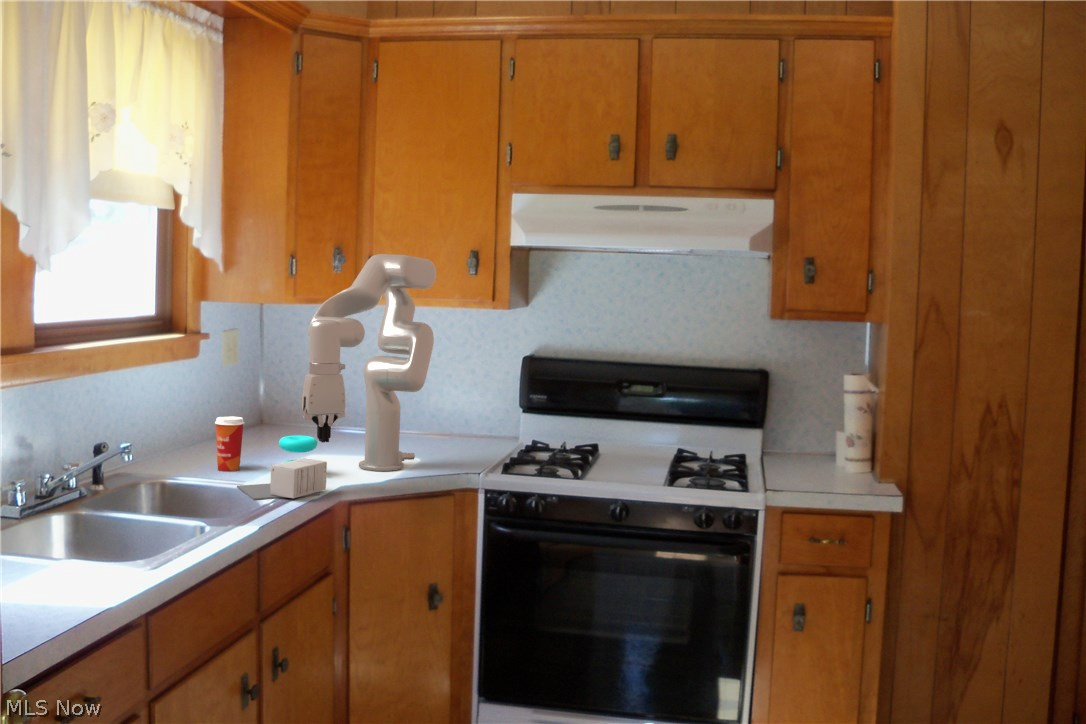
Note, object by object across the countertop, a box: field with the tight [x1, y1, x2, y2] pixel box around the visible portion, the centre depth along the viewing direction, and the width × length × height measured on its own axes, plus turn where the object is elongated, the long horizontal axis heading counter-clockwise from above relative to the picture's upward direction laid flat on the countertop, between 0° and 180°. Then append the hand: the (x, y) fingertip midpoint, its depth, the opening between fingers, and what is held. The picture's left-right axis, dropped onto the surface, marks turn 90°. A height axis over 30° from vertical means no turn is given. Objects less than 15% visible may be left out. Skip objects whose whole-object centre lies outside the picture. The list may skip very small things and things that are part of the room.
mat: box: [236, 482, 320, 501], centre depth 244 cm, size 16×15×1 cm
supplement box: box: [270, 457, 328, 499], centre depth 242 cm, size 7×7×13 cm
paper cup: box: [214, 415, 245, 472], centre depth 267 cm, size 8×8×14 cm
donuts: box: [278, 434, 318, 463], centre depth 265 cm, size 10×10×10 cm
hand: (323, 441), depth 250 cm, fingers closed
